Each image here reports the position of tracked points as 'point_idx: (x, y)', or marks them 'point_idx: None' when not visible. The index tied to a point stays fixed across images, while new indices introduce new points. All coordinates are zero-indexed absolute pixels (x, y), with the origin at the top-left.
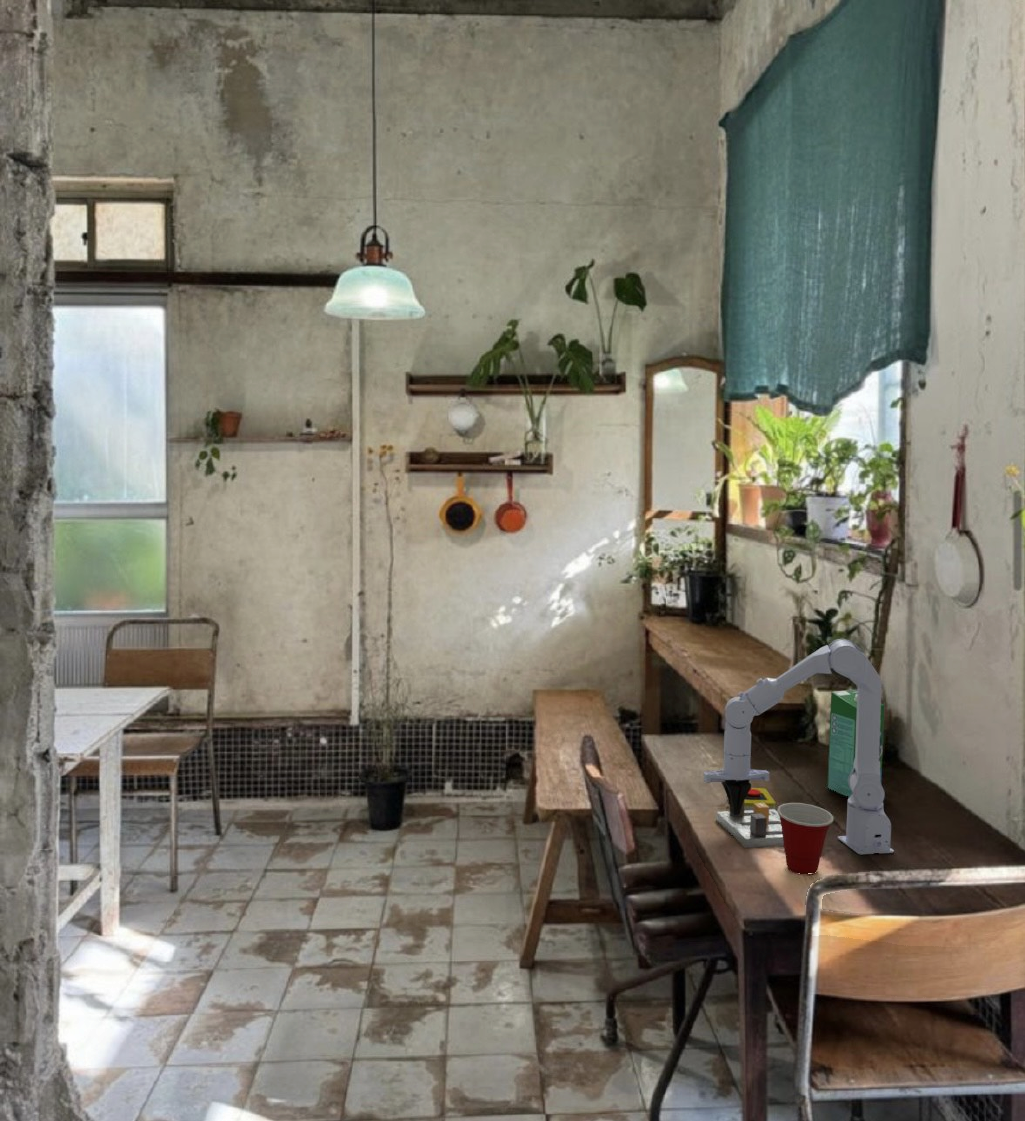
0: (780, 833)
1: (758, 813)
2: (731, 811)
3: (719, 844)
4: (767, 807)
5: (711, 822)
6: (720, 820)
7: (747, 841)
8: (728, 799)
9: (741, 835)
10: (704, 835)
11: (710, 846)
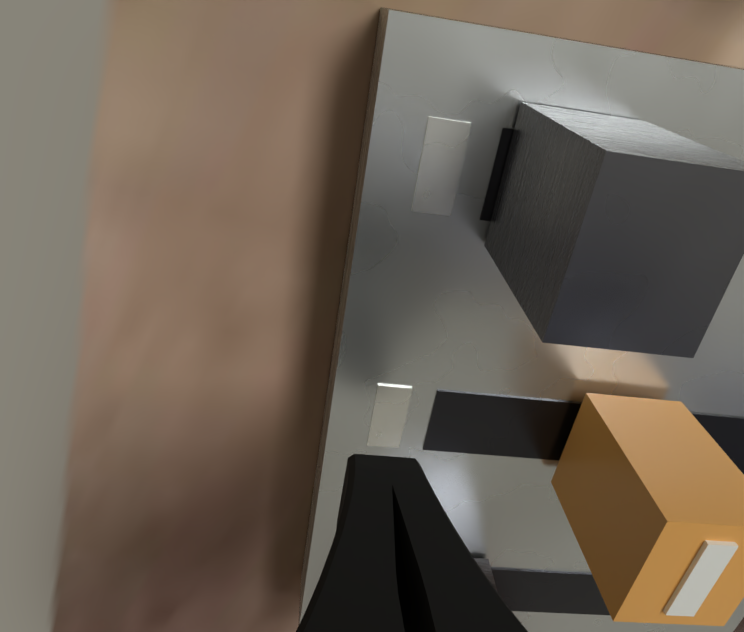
0: (586, 607)
1: (588, 560)
2: (343, 493)
3: (153, 507)
4: (703, 623)
5: (294, 57)
6: (364, 145)
7: None
8: (327, 565)
9: (306, 578)
10: (94, 349)
11: (75, 522)
